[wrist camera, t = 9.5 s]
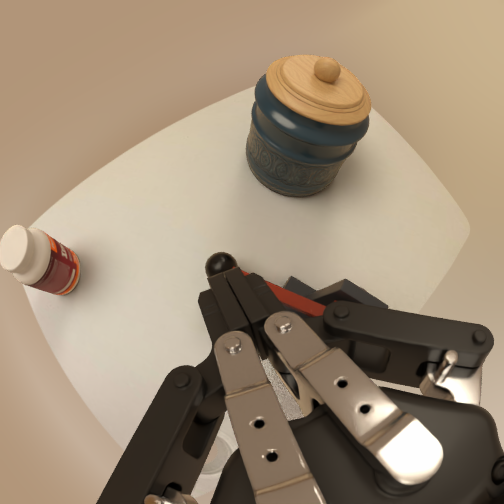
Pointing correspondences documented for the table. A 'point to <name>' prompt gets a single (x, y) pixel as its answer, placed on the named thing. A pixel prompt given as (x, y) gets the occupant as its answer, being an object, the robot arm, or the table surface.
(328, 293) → the bracket
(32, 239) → the pill bottle
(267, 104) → the canister
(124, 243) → the table surface
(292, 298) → the lever
